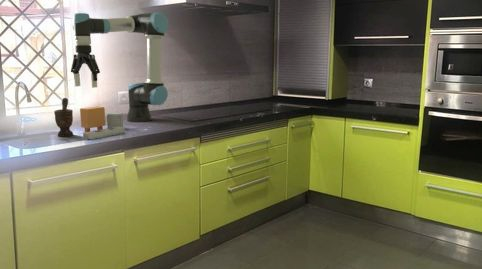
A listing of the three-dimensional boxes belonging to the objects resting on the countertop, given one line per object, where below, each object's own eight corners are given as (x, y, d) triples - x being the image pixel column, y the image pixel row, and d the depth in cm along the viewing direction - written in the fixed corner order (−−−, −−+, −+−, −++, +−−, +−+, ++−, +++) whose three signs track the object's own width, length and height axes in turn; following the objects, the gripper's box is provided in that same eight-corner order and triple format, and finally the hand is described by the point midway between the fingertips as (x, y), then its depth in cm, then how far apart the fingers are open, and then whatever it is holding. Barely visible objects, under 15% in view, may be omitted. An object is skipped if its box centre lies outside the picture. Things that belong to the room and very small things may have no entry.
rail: (118, 132, 236) (118, 126, 235) (125, 133, 233) (124, 127, 232) (83, 138, 218) (83, 132, 217) (90, 139, 215) (89, 133, 215)
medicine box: (123, 128, 248) (122, 112, 247) (121, 129, 244) (121, 113, 242) (109, 128, 248) (108, 112, 246) (107, 129, 244) (106, 114, 242)
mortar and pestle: (81, 135, 225) (78, 97, 222) (65, 138, 219) (62, 98, 215) (68, 133, 232) (65, 95, 229) (53, 135, 226) (49, 97, 222)
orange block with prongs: (98, 129, 243) (97, 106, 240) (105, 130, 239) (104, 107, 237) (81, 132, 234) (79, 108, 231) (88, 134, 230) (87, 109, 228)
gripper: (61, 45, 227) (64, 86, 231) (93, 44, 213) (95, 88, 217) (74, 45, 233) (77, 85, 237) (105, 44, 219) (108, 87, 223)
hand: (86, 86), depth 227 cm, fingers open, 13 cm apart
